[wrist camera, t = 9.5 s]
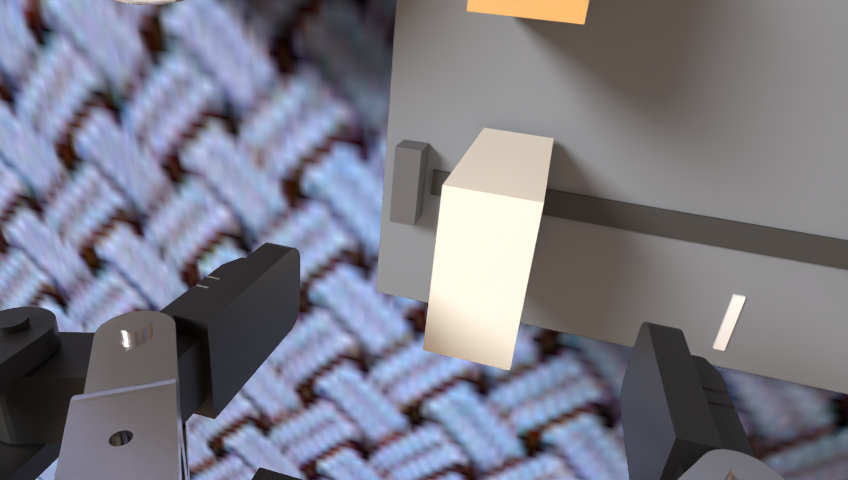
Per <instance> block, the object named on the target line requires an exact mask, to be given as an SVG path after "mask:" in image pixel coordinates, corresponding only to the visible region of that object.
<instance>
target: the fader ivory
mask: <svg viewBox="0 0 848 480" xmlns="http://www.w3.org/2000/svg"><path fill="white" fill-rule="evenodd" d="M553 140H554V138H549V137H542V136H536V135H529V134H522V133H516V132H509V131H503V130H496V129H490V128H483V130H482V131H481V133H480V134H479V135H478V137H477V138H476V139H475V141H474V142H473V144H472V145H471V146H470V148H469V149H468V151H467V152H466V153H465V155H464V156H463V157H462V159H461V160H460V162H459V163H458V164H457V166H456V167H455V168H454V170H453V171H452V173H451V174H450V175H449V177H448V178H447V179H446V181H445V182H444V184H443V185H442V193H441V202H440V210H439V219H438V227H437V236H436V244H435V253H434V261H433V270H432V278H431V287H430V295H429V304H428V312H427V321H426V329H425V338H424V346H423V350H425V351H429V352H434V353H438V354H442V355H446V356H451V357H455V358H459V359H463V360H468V361H472V362H476V363H480V364H485V365H489V366H493V367H498V368H502V369H506V370H510V367H511V362H512V357H513V352H514V347H515V342H516V337H517V333H518V328H519V323H520V318H521V313H522V308H523V303H524V298H525V293H526V288H527V283H528V278H529V274H530V269H531V264H532V259H533V254H534V249H535V244H536V239H537V234H538V229H539V224H540V220H541V215H542V210H543V205H544V199H545V192H546V186H547V179H548V173H549V166H550V159H551V153H552V146H553Z"/></svg>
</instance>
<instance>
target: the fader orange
mask: <svg viewBox="0 0 848 480" xmlns="http://www.w3.org/2000/svg"><path fill="white" fill-rule="evenodd" d="M588 4H589V0H468V3H467V11H470V12H479V13H488V14H497V15H505V16H514V17H523V18H532V19H540V20H549V21H558V22H567V23H576V24H584V23H585V18H586V13H587V8H588Z"/></svg>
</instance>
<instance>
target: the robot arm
mask: <svg viewBox="0 0 848 480" xmlns="http://www.w3.org/2000/svg"><path fill="white" fill-rule="evenodd" d="M299 307H300V254H299V251H298V250H297V249H296V248H292V247H287V246H282V245H277V244H272V243H265V244H263V245H262V246H261V247H259V248H258V249H257V250H256V251H254V252H253V253H252V254H250V255H249V256H248V257H247V258H243V257H242V258H239V259H236V260H234V261H231V262H228V263H226V264H223V265H221V266H220V267H219V268H217V269H216V270H215V271H213V272H212V273H211V274H209V275H208V278H206V277H205V278H204V279H202V280H201V281H200V282H198V283H197V285H196V286H193V287H192V288H190V289H189V290H188V291H186V292H185V293H184V294H182V295H181V296H180V297H178V298H177V299H176V300H174V301H173V302H172V303H170V304H169V305H168V306H166V307H165V308H164V309H162V310H161V311H160V312H156V311H137V312H130V313H126V314H123V315H120V316H117V317H114V318H112V319H110V320H108V321H106V322H105V323H104V324H102V325H101V326H100V327H99V328H98V329H97V330H96V332H95V333H80V332H59V331H58V326H57V321H56V317H55V315H54V313H52V312H51V311H49V310H47V309H44V308H39V307H18V308H12V309H7V310H3V311H0V480H35V479H36V478H37V477H38V476H39V475H40V474H42V473H43V472H44V471H45V470H46V469H47V468H48V467H49V466H50V465H51V464H52V463H53V462H54V461H55V460H56V459H57V458H58V457H59V459H58V464H57V468H56V473H55V478H54V480H190V477H189V459H188V441H187V427H186V421H187V420H188V419H189V418H190V417H191V415H192V414H193V413H194V414H198V415H202V416H205V417H209V418H213V419H215V418H216V417H217V416H218V415H219V414H220V413H221V411H222V410H223V409H224V408H225V407H226V406H227V404H228V403H229V402H230V401H231V400H232V399H233V397H234V396H235V395H236V394H237V393H238V391H239V390H240V389H241V388H242V387H243V386H244V384H245V383H246V382H247V381H248V380H249V379H250V377H251V376H252V375H253V374H254V373H255V372H256V370H257V369H258V368H259V367H260V366H261V365H262V363H263V362H264V361H265V360H266V359H267V358H268V356H269V355H270V354H271V353H272V352H273V351H274V349H275V348H276V347H277V346H278V345H279V344H280V342H281V341H282V340H283V339H284V338H285V337H286V335H287V334H288V333H289V332H290V331H291V329H292V328H293V326H294V324H295V322H296V320H297V317H298V313H299ZM728 393H729V392H728V390H727V388H726V385H725V383H724V380H723V378H722V375H721V374H720V373H719V372H718V371H717V370H716V369H715V368H714V367H713V366H712V365H711V364H710V363H709V362H708V361H707V360H706V359H705V358H704V357H700V356H695V355H691V353H690V351H689V348H688V345H687V342H686V339H685V336H684V334H683V331H682V330H681V329H678V328H673V327H669V326H664V325H659V324H654V323H649V322H644V323H643V324H642V325H641V327H640V330H639V333H638V336H637V339H636V342H635V345H634V348H633V351H632V354H631V358H630V361H629V364H628V367H627V370H626V373H625V376H624V380H623V384H622V389H621V397H620V409H621V417H622V425H623V433H624V440H625V448H626V456H627V463H628V471H629V479H630V480H785V479H784V478H783V477H782V476H781V475H779V474H778V473H777V472H776V471H775V470H773V469H772V468H771V467H769V466H768V465H766V464H765V463H763V462H761V461H759V460H758V459H756V458H755V455H754V453H753V450H752V448H751V445H750V443H749V441H748V438H747V436H746V433H745V431H744V429H743V426H742V424H741V421H740V419H739V416H738V414H737V412H736V411H734V408H735V407H734V404H733V402H732V400H731V397H730V396H728ZM252 480H302V479H298V478H295V477H291V476H288V475H284V474H281V473H278V472H274V471H271V470H267V469H264V468H259V469H258V471H257V472H256V474H255V475H254V477H253V478H252Z"/></svg>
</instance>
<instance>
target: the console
mask: <svg viewBox="0 0 848 480" xmlns="http://www.w3.org/2000/svg"><path fill="white" fill-rule="evenodd" d="M467 3H468V0H397V1H396V15H395V30H394V44H393V59H392V73H391V87H390V102H389V116H388V131H387V145H386V160H385V174H384V188H383V203H382V217H381V232H380V246H379V260H378V275H377V289H376V291H377V292H381V293H386V294H390V295H395V296H399V297H404V298H409V299H413V300H418V301H422V302H427V303H429V295H430V287H431V278H432V270H433V261H434V253H435V244H436V236H437V227H438V219H439V210H440V202H441V193H442V185H443V184H444V182H445V181H446V179H447V178H448V177H449V175H450V174H451V173H452V171H453V170H454V168H455V167H456V166H457V164H458V163H459V162H460V160H461V159H462V157H463V156H464V155H465V153H466V152H467V151H468V149H469V148H470V146H471V145H472V144H473V142H474V141H475V139H476V138H477V137H478V135H479V134H480V133H481V131H482V130H483V128H490V129H496V130H503V131H509V132H516V133H522V134H529V135H536V136H542V137H549V138H554V140H553V146H552V153H551V159H550V166H549V173H548V179H547V186H546V192H545V199H544V205H543V210H542V215H541V220H540V224H539V229H538V234H537V239H536V244H535V249H534V254H533V259H532V264H531V269H530V274H529V278H528V283H527V288H526V293H525V298H524V303H523V308H522V313H521V318H520V323H523V324H528V325H532V326H537V327H542V328H546V329H551V330H555V331H560V332H565V333H569V334H574V335H578V336H583V337H588V338H592V339H597V340H601V341H606V342H610V343H615V344H620V345H624V346H629V347H633V348H634V345H635V342H636V339H637V336H638V333H639V330H640V327H641V325H642V324H643V323H644V322H649V323H654V324H659V325H664V326H669V327H673V328H678V329H681V330H682V331H683V334H684V336H685V339H686V342H687V345H688V348H689V351H690V353H691V355H695V356H700V357H704V358H705V359H706V360H707V361H708V362H709V363H710V364H711V365H716V366H721V367H725V368H730V369H734V370H739V371H744V372H748V373H753V374H757V375H762V376H766V377H771V378H776V379H780V380H785V381H789V382H794V383H799V384H803V385H808V386H812V387H817V388H822V389H826V390H831V391H835V392H840V393H844V394H848V0H589V4H588V8H587V13H586V18H585V23H584V24H576V23H567V22H558V21H549V20H540V19H532V18H523V17H514V16H505V15H497V14H488V13H479V12H470V11H467Z"/></svg>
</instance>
